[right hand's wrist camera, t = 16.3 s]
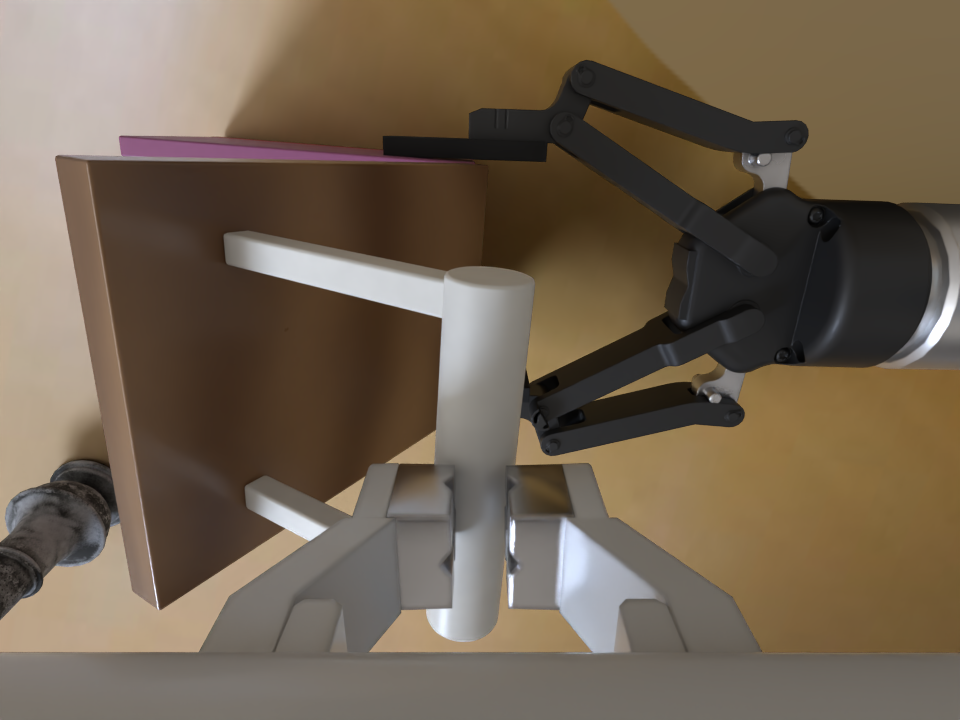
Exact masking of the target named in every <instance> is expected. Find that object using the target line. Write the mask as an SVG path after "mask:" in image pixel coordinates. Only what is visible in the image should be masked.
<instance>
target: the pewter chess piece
mask: <svg viewBox="0 0 960 720" xmlns="http://www.w3.org/2000/svg"><path fill="white" fill-rule="evenodd" d="M5 521H6V526H7V530H8V532H9V535H8V536H7V537H6V538H5V539H4V540H3V541H1V542H0V620H1V619H2V618H3V617H4V616H5V615H6V614H7V613H8V612H9V611H10V610H11V608H12V607H13V606H14V605H15V604H16V603H17V602H18V601H19V600H20V599H21V598H27V597H30V596H33V595H34V594H35V593H37V592H38V591H39V590H40V588H41V587H42V584H43V578H44V577H45V576H46V575H47V574H48V573H49V571H50V570H51V569H52V568H53V567H54V566H64V567H71V566H80V565H83V564H85V563H88V562H91V561H92V560H93V559H95V558H96V557H97V556H98V555H99V554H100V553H101V551H102V550H103V548H104V546H105V542H106V537H107V536H108V532H109V528H110V527H111V526H114V525H116V524H119V523H120V518H119V513H118V507H117V502H116V496H115V490H114V485H113V479H112V474H111V469H110V468H109V467H107V466H105V465H103V464H100V463H97V462H94V461H87V460H77V461H71V462H68V463H66V464H63V465H62V466H61V467H59V468H58V469H57V470H56V471H55V472H54V474H53V475H52V477H51V480H50V483H47V484H43V485H41V486H38V487H36V488H30V489H27V490H25V491H22V492H20V493H19V494H18V495H16V496H15V497H14V498H13V499H12V500H11V501H10V503H9V505H8V506H7V508H6V514H5Z"/></svg>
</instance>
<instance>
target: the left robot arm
mask: <svg viewBox="0 0 960 720" xmlns="http://www.w3.org/2000/svg"><path fill="white" fill-rule="evenodd" d="M589 104H590V105H592V106H595V107H598V108H601V109H603V110H606V111H609V112H611V113H614V114H617V115H620V116H622V117H625V118H628V119H630V120H633V121H636V122H639V123H641V124H644V125H647V126H649V127H652V128H655V129H658V130H660V131H663V132H666V133H669V134H671V135H674V136H677V137H679V138H682V139H685V140H688V141H690V142H693V143H696V144H698V145H701V146H704V147H707V148H710V149H714V150H718V151H725V152H734V154H733V163H734V166H735V167H736V169H738V170H739V171H742V172H746V173H748V174H750V175H751V177H752V178H753V181H754V188H752V189H750V190H748V191H746V192H745V193H743V194H742V195H740V196H739V197H737V198H735V199H734V200H732V201H731V202H729V203H728V204H726V205H724V206H723V207H721V208H720V209H718V210H716V211H714V210H713V209H711V208H710V207H708V206H707V205H705V204H704V203H702V202H700V201H698V200H696V199H695V198H693V197H692V196H690V195H689V194H688V193H686V192H685V191H683V190H682V189H680V188H679V187H678V186H676V185H675V184H673V183H672V182H670V181H669V180H668V179H666V178H665V177H663V176H662V175H660V174H659V173H658V172H656V171H655V170H653V169H652V168H651V167H649V166H648V165H646V164H645V163H643V162H642V161H641V160H639V159H638V158H636V157H635V156H633V155H632V154H631V153H629V152H628V151H626V150H625V149H623V148H622V147H621V146H619V145H618V144H616V143H615V142H614V141H612V140H611V139H609V138H608V137H606V136H605V135H604V134H602V133H601V132H599V131H598V130H596V129H595V128H594V127H592V126H591V125H589V124H588V123H587V122H585V121H584V120H583V118H584V116H585V113H586V111H587V109H588V107H589ZM807 139H808V128H807V126H806V124H804V123H803V122H802V121H797V120H791V121H762V122H753V121H750V120H747V119H745V118H742V117H739V116H737V115H734V114H731V113H729V112H726V111H723V110H721V109H718V108H716V107H713V106H710V105H708V104H705V103H702V102H700V101H697V100H694V99H692V98H689V97H686V96H684V95H681V94H679V93H676V92H673V91H671V90H668V89H665V88H663V87H660V86H657V85H655V84H652V83H649V82H647V81H644V80H641V79H639V78H636V77H634V76H631V75H628V74H626V73H623V72H620V71H618V70H615V69H612V68H610V67H607V66H604V65H602V64H599V63H596V62H594V61H589V60H585V61H581V62H579V63H578V64H576V65H575V66H573V67H572V68H570V69H569V70H568V71H567V72H566V73H565V75H564V77H563V80H562V84H561V86H560V89H559V91H558V94H557V96H556V99H555V100H554V102H553V104H552V105H551V106H550V107H549V108H547V109H546V110H516V109H489V108H481V109H479V110H476V111H474V112H471V113H469V139H467V138H439V137H411V136H383V155H388V156H400V157H419V158H447V159H476V160H505V161H534V162H546V155H547V143H553V144H555V145H556V146H558V147H559V148H561V149H562V150H563V151H565V152H566V153H568V154H569V155H571V156H572V157H574V158H575V159H577V160H578V161H580V162H581V163H582V164H584V165H585V166H587V167H588V168H590V169H591V170H593V171H594V172H596V173H597V174H599V175H600V176H601V177H603V178H604V179H606V180H607V181H609V182H610V183H612V184H613V185H615V186H616V187H618V188H619V189H620V190H622V191H623V192H625V193H626V194H628V195H629V196H631V197H632V198H634V199H635V200H637V201H638V202H639V203H641V204H642V205H644V206H645V207H647V208H648V209H650V210H651V211H653V212H654V213H656V214H657V215H658V216H660V217H661V218H662V219H663V220H665V221H666V222H668V223H669V224H671V225H672V226H673V227H675V228H676V229H678V230H679V231H681V232H682V233H684V234H683V236H682V237H681V239H680V241H679V243H674V248H673V254H672V265H673V278H672V280H671V283H670V285H669V287H668V290H667V293H666V299H665V306H664V307H665V308H666V309H667V310H668V311H667V312H665V313H663V314H661V315H659V316H657V317H655V318H653V319H651V320H649V321H648V322H647V323H646V325H645V326H644V327H643V328H642V329H640V330H638V331H635V332H633V333H631V334H629V335H627V336H625V337H623V338H621V339H619V340H617V341H615V342H613V343H611V344H609V345H607V346H605V347H603V348H600V349H598V350H596V351H594V352H592V353H590V354H588V355H586V356H584V357H582V358H580V359H578V360H576V361H574V362H572V363H570V364H568V365H565V366H563V367H561V368H559V369H557V370H555V371H553V372H551V373H549V374H547V375H545V376H543V377H541V378H539V379H537V380H535V381H532V382H531V383H530V384H529V380H528V376H527V371H525V380H524V389H523V398H522V407H521V416H520V418H524V419H527V420H529V421H530V422H531V423H532V425H533V426H534V427H535V430H536V433H537V436H538V439H539V442H540V446H541V449H542V451H543V452H544V453H545V454H546V455H550V456H556V455H560V454H565V453H569V452H574V451H578V450H583V449H587V448H592V447H596V446H600V445H605V444H609V443H614V442H618V441H623V440H627V439H632V438H636V437H641V436H645V435H649V434H654V433H658V432H663V431H667V430H672V429H676V428H681V427H685V426H689V425H694V424H698V425H710V426H722V427H734V426H737V425H739V424H740V423H741V422H742V421H743V419H744V416H745V412H744V410H743V408H742V407H741V406H740V405H739V404H738V403H737V400H738V397H739V393H740V390H741V387H742V383H743V380H744V376H745V373H747V372H751V371H753V370H755V369H758V368H760V367H763V366H766V365H770V364H782V365H793V366H819V367H856V368H864V367H872V366H876V367H880V368H885V369H934V370H960V204H937V203H900V204H894V203H891V202H883V201H855V200H825V199H802V198H800V197H798V196H796V195H795V194H794V193H792V192H791V191H790V190H787V183H788V176H789V170H790V164H791V158H792V152H796V151H798V150H799V149H801V148H802V147H803V146H804V145H805V143H806V142H807ZM706 353H707V354H708V355H710V356H711V357H712V358H713V359H714V360H716V361H717V362H718V365H717V367H716V368H715V369H714V370H713V371H712V372H710V373H707V374H696V375H695V376H693V378H692V382H677V383H670V384H665V385H661V386H656V387H652V388H648V389H643V390H639V391H635V392H630V393H626V394H622V395H617V396H613V397H609V398H604V399H600V400H596V399H598V398H600V397H602V396H604V395H606V394H609V393H611V392H613V391H615V390H617V389H619V388H621V387H623V386H626V385H628V384H630V383H632V382H634V381H636V380H638V379H641V378H643V377H645V376H647V375H649V374H651V373H653V372H655V371H658V370H660V369H662V368H664V367H666V366H680V365H682V364H685V363H687V362H689V361H691V360H693V359H695V358H698V357H700V356H702V355H704V354H706ZM594 400H596V401H594Z"/></svg>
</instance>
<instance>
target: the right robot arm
mask: <svg viewBox="0 0 960 720" xmlns="http://www.w3.org/2000/svg"><path fill="white" fill-rule="evenodd" d="M455 491H456V482H455V465H442V464H400V465H399V464H398V463H385V464H372V465H370V466H369V468H368V471H367V474H366V477H365V480H364V483H363V486H362V489H361V492H360V495H359V498H358V501H357V504H356V507H355V510H354V513H353V516H352V518H343V519H341V520H340V521H338V522H337V523H335V524H334V525H332V526H331V527H330V528H328V529H327V530H325V531H324V532H322V533H321V534H319V535H318V536H316V537H315V538H313V539H312V540H311V541H309V542H308V543H306V544H305V545H303V546H302V547H300V548H299V549H297V550H296V551H295V552H293V553H292V554H290V555H289V556H287V557H286V558H284V559H283V560H281V561H280V562H279V563H277V564H276V565H274V566H273V567H271V568H270V569H268V570H267V571H265V572H264V573H262V574H261V575H260V576H258V577H257V578H255V579H254V580H252V581H251V582H249V583H248V584H246V585H245V586H244V587H242V588H241V589H239V590H238V591H236V592H235V593H233V594H232V595H230V596H229V598H228V600H227V601H226V603H225V605H224V607H223V609H222V611H221V612H220V614H219V616H218V618H217V620H216V622H215V623H214V625H213V627H212V629H211V631H210V633H209V634H208V636H207V638H206V640H205V642H204V644H203V645H202V647H201V649H200V651H199V652H0V720H960V652H762V651H761V649H760V647H759V645H758V643H757V641H756V640H755V638H754V636H753V634H752V632H751V630H750V629H749V627H748V625H747V623H746V621H745V619H744V617H743V616H742V614H741V612H740V610H739V608H738V606H737V605H736V603H735V601H734V599H733V597H732V596H730V595H729V594H727V593H726V592H724V591H723V590H721V589H720V588H718V587H717V586H716V585H714V584H713V583H711V582H710V581H708V580H707V579H705V578H704V577H702V576H701V575H700V574H698V573H697V572H695V571H694V570H692V569H691V568H689V567H688V566H686V565H685V564H684V563H682V562H681V561H679V560H678V559H676V558H675V557H673V556H672V555H670V554H669V553H668V552H666V551H665V550H663V549H662V548H660V547H659V546H657V545H656V544H655V543H653V542H652V541H650V540H649V539H647V538H646V537H644V536H643V535H641V534H640V533H639V532H637V531H636V530H634V529H633V528H631V527H630V526H628V525H627V524H625V523H624V522H623V521H621V520H620V519H618V518H609V516H608V513H607V511H606V508H605V505H604V502H603V499H602V496H601V493H600V490H599V487H598V484H597V481H596V478H595V475H594V472H593V469H592V467H591V465H590V464H588V463H577V464H547V465H507V466H506V468H505V497H506V506H505V507H504V541H505V560H506V561H507V577H506V579H507V593H508V607H509V609H543V610H560V613H561V615H562V616H563V617H564V618H565V619H566V621H567V622H568V623H569V624H570V625H571V627H572V628H573V629H574V630H575V631H576V633H577V634H578V635H579V636H580V638H581V639H582V640H583V641H584V642H585V644H586V645H587V646H588V647H589V648H590V650H591V651H592V652H369V651H370V650H371V648H372V647H373V646H374V645H375V644H376V642H377V641H378V640H379V639H380V638H381V636H382V635H383V634H384V633H385V632H386V630H387V629H388V628H389V627H390V626H391V624H392V623H393V622H394V621H395V620H396V618H397V617H398V616H399V615H400V614H401V610H417V609H452V605H453V589H454V561H455V555H456V509H455Z"/></svg>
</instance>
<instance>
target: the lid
mask: <svg viewBox="0 0 960 720" xmlns="http://www.w3.org/2000/svg"><path fill="white" fill-rule="evenodd" d="M55 161H56V166H57V172H58V177H59V183H60V189H61V194H62V200H63V205H64V211H65V217H66V222H67V228H68V233H69V239H70V244H71V250H72V256H73V261H74V267H75V272H76V278H77V284H78V289H79V295H80V300H81V306H82V312H83V317H84V323H85V328H86V334H87V339H88V345H89V351H90V356H91V362H92V367H93V373H94V379H95V384H96V390H97V395H98V401H99V407H100V412H101V418H102V423H103V429H104V434H105V440H106V446H107V451H108V457H109V462H110V468H111V474H112V479H113V485H114V490H115V496H116V502H117V507H118V513H119V518H120V524H121V529H122V535H123V541H124V546H125V552H126V557H127V563H128V569H129V574H130V580H131V585H132V590H133V592H134V593H136V594H137V595H139V596H140V597H141V598H143V599H144V600H145V601H147V602H148V603H150V604H151V605H152V606H154V607H155V608H157V609H158V610H161V609H163V608H165V607H166V606H168V605H169V604H171V603H172V602H174V601H175V600H177V599H178V598H180V597H182V596H183V595H185V594H186V593H188V592H189V591H191V590H192V589H194V588H195V587H197V586H198V585H200V584H201V583H203V582H204V581H206V580H207V579H209V578H211V577H212V576H214V575H215V574H217V573H218V572H220V571H221V570H223V569H224V568H226V567H227V566H229V565H230V564H232V563H233V562H235V561H236V560H238V559H240V558H241V557H243V556H244V555H246V554H247V553H249V552H250V551H252V550H253V549H255V548H256V547H258V546H259V545H261V544H262V543H264V542H266V541H267V540H269V539H270V538H272V537H273V536H275V535H276V534H278V533H279V532H281V531H282V530H284V529H285V528H286V529H288V530H289V531H291V532H293V533H295V534H297V535H299V536H301V537H303V538H305V539H306V540H308V541H311V540H312V539H313V538H315V537H316V536H318V535H319V534H321V533H322V532H324V531H325V530H327V529H328V528H330V527H331V526H332V525H334V524H335V523H337V522H338V521H340V520H341V519H343V518H352V516H350V515H348V514H346V513H344V512H342V511H340V510H338V509H336V508H333V507H331V506H329V505H327V504H325V502H327V501H328V500H330V499H331V498H333V497H334V496H336V495H337V494H339V493H340V492H342V491H343V490H345V489H346V488H348V487H350V486H351V485H353V484H354V483H356V482H357V481H359V480H360V479H362V478H363V477H365V476H366V474H367V471H368V468H369V466H370V465H372V464H385V463H386V462H388V461H389V460H391V459H392V458H394V457H395V456H397V455H398V454H400V453H401V452H403V451H404V450H406V449H408V448H409V447H411V446H412V445H414V444H415V443H417V442H418V441H420V440H421V439H423V438H424V437H426V436H427V435H429V434H430V433H432V432H433V431H435V430H436V442H435V461H434V464H442V465H455V482H456V491H455V509H456V555H455V561H454V589H453V605H452V609H427V611H426V613H427V618H428V621H429V623H430V625H431V626H432V628H433V629H434V630H435V631H436V632H437V633H438V634H439V635H441V636H443V637H445V638H447V639H449V640H453V641H458V642H470V641H475V640H478V639H480V638H483V637H484V636H486V635H487V634H488V633H490V632H491V630H492V629H493V628H494V626H495V625H496V623H497V620H498V613H499V604H500V595H501V586H502V577H503V568H504V559H505V541H504V507H505V506H506V497H505V468H506V466H507V465H515V461H516V452H517V443H518V434H519V425H520V416H521V407H522V398H523V389H524V380H525V371H526V362H527V353H528V344H529V335H530V326H531V317H532V308H533V299H534V290H535V281H534V279H533V278H532V277H531V276H529V275H527V274H524V273H522V272H518V271H515V270H510V269H504V268H497V267H485V266H481V260H482V247H483V233H484V220H485V207H486V194H487V181H488V168H489V167H488V166H487V165H479V164H469V163H438V162H388V161H337V160H287V159H236V158H186V157H135V156H85V155H58V156H56V157H55Z"/></svg>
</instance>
